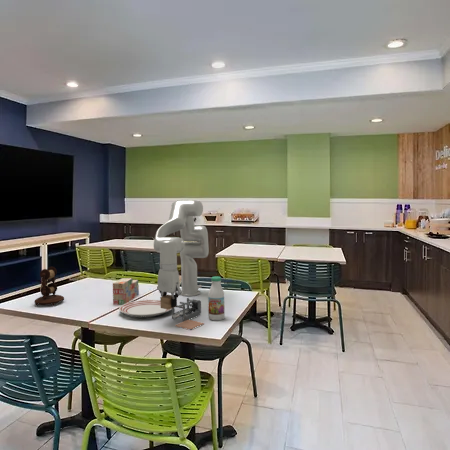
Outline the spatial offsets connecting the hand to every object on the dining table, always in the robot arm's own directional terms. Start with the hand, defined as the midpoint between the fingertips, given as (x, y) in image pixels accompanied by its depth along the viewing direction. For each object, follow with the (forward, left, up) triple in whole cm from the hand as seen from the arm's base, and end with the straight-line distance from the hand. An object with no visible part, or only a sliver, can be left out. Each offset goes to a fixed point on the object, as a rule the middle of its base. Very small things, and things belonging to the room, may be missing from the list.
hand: (169, 305), depth 165 cm
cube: (+1, 0, -1) cm, 1 cm away
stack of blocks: (-15, -48, -9) cm, 52 cm away
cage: (-11, 0, -9) cm, 14 cm away
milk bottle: (-18, +14, -9) cm, 24 cm away
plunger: (-11, 0, -8) cm, 13 cm away
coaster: (-3, +9, -9) cm, 13 cm away
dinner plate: (-6, -22, -9) cm, 24 cm away
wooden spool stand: (+14, -78, -9) cm, 79 cm away
